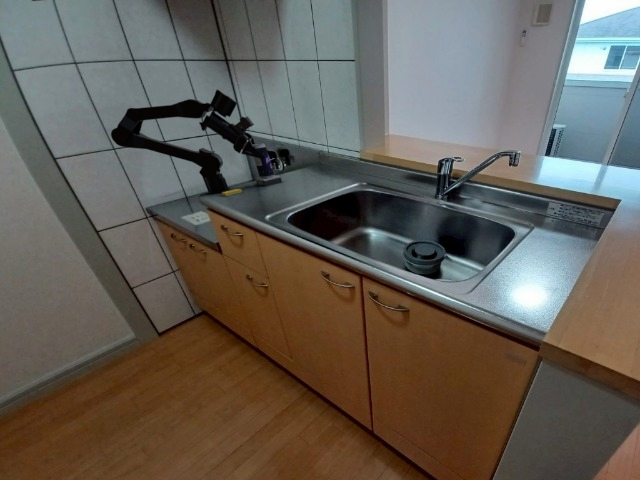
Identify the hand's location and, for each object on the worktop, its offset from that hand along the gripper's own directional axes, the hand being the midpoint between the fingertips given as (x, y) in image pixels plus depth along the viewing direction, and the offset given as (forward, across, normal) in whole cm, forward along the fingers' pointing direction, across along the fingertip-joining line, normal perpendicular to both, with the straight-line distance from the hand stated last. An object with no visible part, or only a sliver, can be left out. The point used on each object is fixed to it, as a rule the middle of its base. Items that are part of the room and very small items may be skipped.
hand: (265, 156), depth 124 cm
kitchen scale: (+6, 0, +8) cm, 10 cm away
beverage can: (+4, 0, +6) cm, 8 cm away
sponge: (-3, -9, +17) cm, 20 cm away
